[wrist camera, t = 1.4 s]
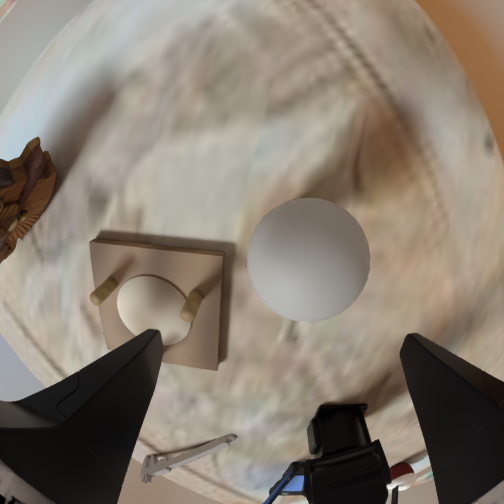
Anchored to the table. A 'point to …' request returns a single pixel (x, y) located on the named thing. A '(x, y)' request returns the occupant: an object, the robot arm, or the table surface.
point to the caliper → (181, 458)
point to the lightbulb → (308, 259)
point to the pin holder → (160, 297)
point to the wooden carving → (23, 193)
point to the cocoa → (401, 479)
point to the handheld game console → (288, 483)
